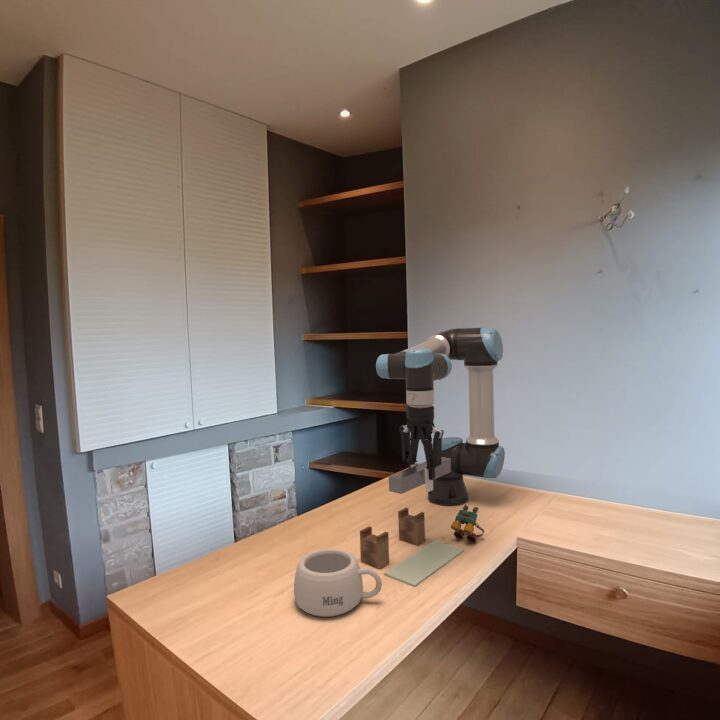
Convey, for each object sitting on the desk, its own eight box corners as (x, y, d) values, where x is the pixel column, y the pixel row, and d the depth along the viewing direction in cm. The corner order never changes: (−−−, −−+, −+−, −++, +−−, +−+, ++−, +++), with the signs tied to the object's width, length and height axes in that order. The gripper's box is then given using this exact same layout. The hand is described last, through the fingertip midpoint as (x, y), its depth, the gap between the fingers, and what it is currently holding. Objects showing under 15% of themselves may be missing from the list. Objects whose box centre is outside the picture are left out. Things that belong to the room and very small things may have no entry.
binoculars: (453, 542, 150) (444, 522, 146) (463, 519, 156) (455, 498, 151) (481, 550, 145) (473, 529, 140) (491, 525, 150) (484, 504, 146)
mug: (284, 618, 110) (283, 576, 109) (305, 580, 126) (303, 543, 125) (377, 625, 106) (376, 581, 105) (386, 585, 122) (385, 547, 122)
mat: (384, 574, 128) (383, 572, 128) (434, 541, 147) (434, 540, 146) (415, 587, 121) (415, 585, 121) (464, 550, 140) (464, 549, 140)
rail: (389, 491, 125) (388, 475, 125) (439, 469, 143) (438, 456, 143) (401, 494, 123) (400, 478, 122) (450, 471, 140) (450, 458, 140)
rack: (360, 562, 135) (359, 530, 135) (406, 535, 152) (405, 507, 151) (380, 569, 131) (379, 537, 130) (425, 541, 147) (424, 512, 146)
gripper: (387, 404, 134) (389, 486, 136) (439, 409, 123) (441, 499, 124) (403, 401, 140) (405, 480, 141) (454, 405, 129) (456, 491, 130)
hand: (422, 488), depth 133 cm, fingers closed on rail, 4 cm apart
